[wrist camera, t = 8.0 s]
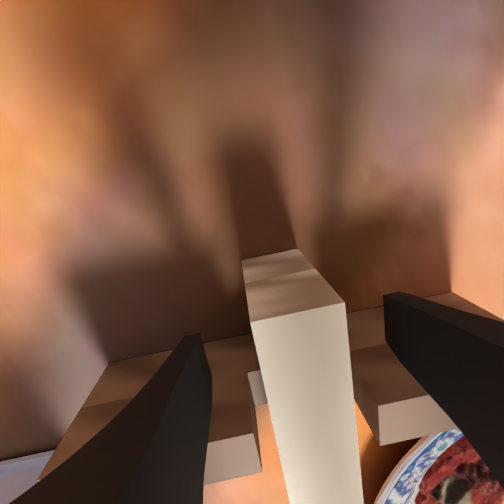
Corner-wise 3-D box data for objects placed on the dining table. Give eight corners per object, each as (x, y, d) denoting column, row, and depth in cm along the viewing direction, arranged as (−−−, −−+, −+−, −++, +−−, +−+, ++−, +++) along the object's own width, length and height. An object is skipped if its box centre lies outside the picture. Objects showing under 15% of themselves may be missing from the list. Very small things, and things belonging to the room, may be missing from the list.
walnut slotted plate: (120, 390, 16) (58, 517, 10) (109, 363, 15) (36, 480, 9) (450, 321, 16) (571, 403, 10) (451, 291, 16) (580, 361, 10)
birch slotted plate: (272, 406, 17) (294, 527, 11) (241, 260, 14) (250, 322, 8) (318, 396, 17) (364, 511, 11) (297, 248, 14) (344, 301, 8)
